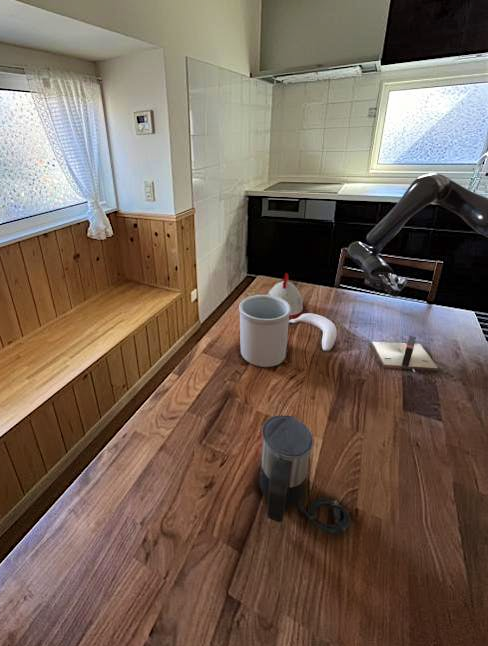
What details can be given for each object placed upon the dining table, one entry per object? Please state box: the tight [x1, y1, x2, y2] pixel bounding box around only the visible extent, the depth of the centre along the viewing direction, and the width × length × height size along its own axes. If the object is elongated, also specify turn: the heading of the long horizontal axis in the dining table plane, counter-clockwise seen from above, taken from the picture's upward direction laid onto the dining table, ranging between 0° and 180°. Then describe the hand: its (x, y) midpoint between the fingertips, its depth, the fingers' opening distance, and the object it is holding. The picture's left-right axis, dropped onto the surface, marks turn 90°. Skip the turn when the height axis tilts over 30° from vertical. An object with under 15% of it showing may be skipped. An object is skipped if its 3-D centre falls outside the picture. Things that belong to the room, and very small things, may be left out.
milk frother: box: [259, 414, 352, 535], centre depth 62 cm, size 14×16×15 cm
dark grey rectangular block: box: [402, 335, 417, 367], centre depth 96 cm, size 7×2×6 cm, turn 143°
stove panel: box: [370, 341, 439, 373], centre depth 99 cm, size 14×14×2 cm
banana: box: [289, 312, 338, 352], centre depth 113 cm, size 5×19×15 cm
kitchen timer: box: [266, 272, 304, 320], centre depth 126 cm, size 14×14×15 cm
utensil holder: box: [238, 294, 290, 368], centre depth 102 cm, size 15×15×18 cm
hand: (396, 293), depth 100 cm, fingers closed
